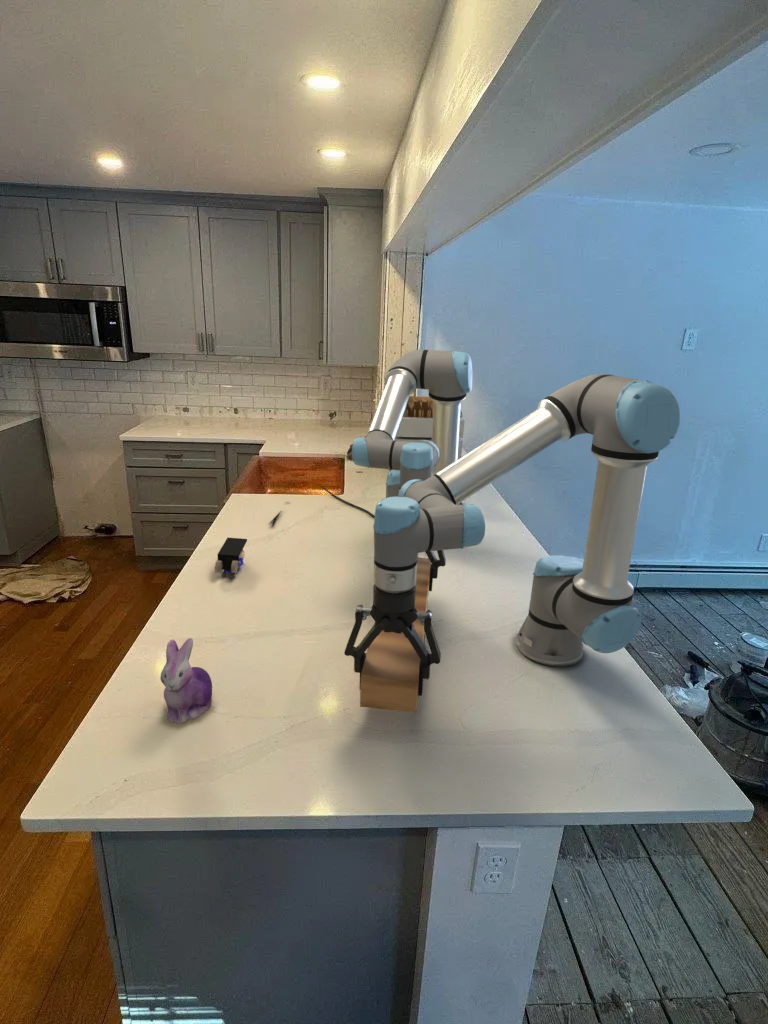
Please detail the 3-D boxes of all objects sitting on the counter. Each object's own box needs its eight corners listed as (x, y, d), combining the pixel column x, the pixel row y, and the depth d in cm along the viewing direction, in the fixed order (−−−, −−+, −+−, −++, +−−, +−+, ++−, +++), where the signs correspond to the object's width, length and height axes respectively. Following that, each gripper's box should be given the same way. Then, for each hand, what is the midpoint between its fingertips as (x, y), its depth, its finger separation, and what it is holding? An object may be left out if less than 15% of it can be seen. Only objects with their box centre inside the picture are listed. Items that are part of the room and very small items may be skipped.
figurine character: (238, 584, 162) (249, 557, 175) (236, 562, 158) (247, 536, 172) (215, 584, 161) (227, 556, 175) (212, 561, 158) (225, 535, 171)
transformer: (382, 463, 289) (386, 382, 275) (445, 464, 293) (451, 384, 279) (390, 482, 257) (394, 392, 243) (460, 483, 261) (468, 394, 247)
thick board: (391, 578, 152) (392, 555, 150) (429, 581, 151) (431, 558, 149) (360, 706, 103) (360, 675, 101) (416, 713, 102) (418, 681, 100)
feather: (288, 505, 226) (290, 501, 226) (271, 529, 199) (273, 524, 199) (284, 503, 226) (287, 499, 225) (266, 526, 199) (269, 522, 199)
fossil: (346, 442, 311) (368, 427, 306) (357, 455, 314) (379, 440, 309) (340, 456, 291) (363, 440, 286) (351, 470, 294) (374, 454, 289)
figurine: (167, 732, 103) (160, 663, 98) (160, 699, 112) (153, 633, 107) (220, 718, 108) (215, 650, 103) (209, 687, 116) (204, 623, 111)
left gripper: (365, 508, 137) (363, 589, 145) (460, 515, 134) (453, 598, 142) (370, 498, 144) (367, 576, 152) (460, 505, 141) (453, 584, 149)
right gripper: (326, 589, 97) (327, 695, 105) (460, 599, 95) (451, 707, 103) (335, 570, 104) (336, 670, 112) (460, 579, 102) (452, 682, 110)
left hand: (409, 586), depth 147 cm, fingers closed on thick board, 10 cm apart
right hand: (391, 688), depth 107 cm, fingers closed on thick board, 10 cm apart
